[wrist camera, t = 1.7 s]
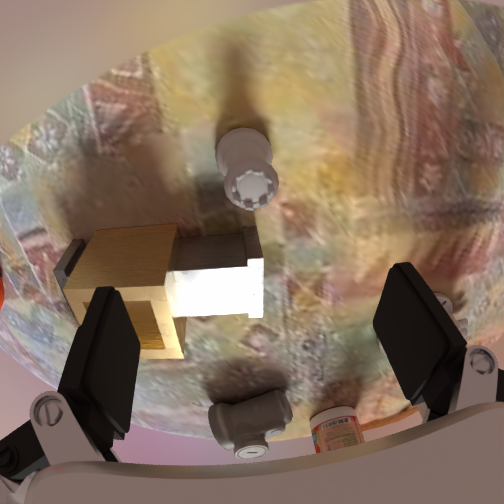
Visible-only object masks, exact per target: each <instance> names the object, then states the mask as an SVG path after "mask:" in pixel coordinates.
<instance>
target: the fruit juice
mask: <svg viewBox="0 0 504 504" xmlns="http://www.w3.org/2000/svg"><path fill="white" fill-rule="evenodd" d="M310 428H311V432H312V437H313V441H314V445H315V450H316V454H317V453H322V452H327V451H331V450H336V449H340V448H345V447H349V446H353V445H357V444H361V443H364V442H365V441H364V438H363V434H362V431H361V428H360V425H359V421H358V418H357V415H356V412H355V410H354V409H353V408H352V407H348V406H340V407H335V408H331V409H328V410H325V411H323V412H321V413H319V414H317V415H315V416H314V417H313V418H312V419H311V421H310Z"/></svg>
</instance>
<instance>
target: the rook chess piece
mask: <svg viewBox="0 0 504 504" xmlns="http://www.w3.org/2000/svg"><path fill="white" fill-rule="evenodd" d="M215 157H216V161H217V165H218V169H219V170H220V172H221V173H222V174H223V175H224V177H225V181H224V189H225V193H226V196H227V197H228V198H229V200H230V201H231V202H232V203H233V204H235V205H237V206H239V207H240V208H245V210H251V211H253V209H256V208H260V207H261V209H262V208H264V207H265V206H267V205H268V203H269V202H271V200H272V199H273V198H274V196H275V195H276V193H277V190H278V185H279V181H278V176H277V173H276V171H275V170H274V169H273V167H272V166H271V162H272V158H273V156H272V151H271V146H270V143H269V142H268V140H267V139H266V138H265V136H264V135H263V134H261V133H260V132H258V131H256V130H255V129H250V128H239V129H234V130H231V131H230V132H228V133H227V134H226V135H224V136H223V137H222V138H221V140H220V141H219V143H218V145H217V148H216V154H215Z"/></svg>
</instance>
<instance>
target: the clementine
mask: <svg viewBox="0 0 504 504" xmlns="http://www.w3.org/2000/svg"><path fill="white" fill-rule="evenodd" d="M3 301H4V286H3V282H2V279H1V277H0V309H1V307H2V304H3Z"/></svg>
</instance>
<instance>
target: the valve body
mask: <svg viewBox="0 0 504 504" xmlns="http://www.w3.org/2000/svg"><path fill="white" fill-rule="evenodd" d="M53 272H54V275H55V277H56V279H57V281H58V284H59V286H60V288H61V290H62V292H63V295H64V297H65V299H66V301H67V303H68V305H69V307H70V309H71V311H72V313H73V315H74V317H75V319H76V321H77V323H79V324H80V326H81V325H82V322H83V319H84V317H85V314H86V311H87V309H88V306H89V304H90V301H91V299H92V296H93V294H94V291H95V289H96V288H97V287H103V286H113V287H114V288H115V290H119V291H120V293H121V296H122V299H123V301H124V304H125V307H126V309H127V312H128V314H129V317H130V319H131V322H132V324H133V327H134V329H135V331H136V334H137V336H138V339H139V341H140V345H141V351H140V357H139V359H165V358H184V346H185V332H186V319H187V316H201V315H219V314H234V313H249V318H255V317H263V254H262V250H261V245H260V241H259V236H258V232H257V227H256V226H250V227H243V234H229V235H214V236H199V237H184V238H179V231H178V225H177V223H176V224H163V225H151V226H139V227H127V228H117V229H106V230H96V232H95V233H94V235H93V237H92V238H91V240H90V242H89V243H88V245H84V242H83V239H79V240H72V242H71V243H70V245H69V246H68V248H67V249H66V251H65V253H64V254H63V256H62V257H61V259H60V260H59V262H58V264H57V265H56V267H55V268H54V270H53Z"/></svg>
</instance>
